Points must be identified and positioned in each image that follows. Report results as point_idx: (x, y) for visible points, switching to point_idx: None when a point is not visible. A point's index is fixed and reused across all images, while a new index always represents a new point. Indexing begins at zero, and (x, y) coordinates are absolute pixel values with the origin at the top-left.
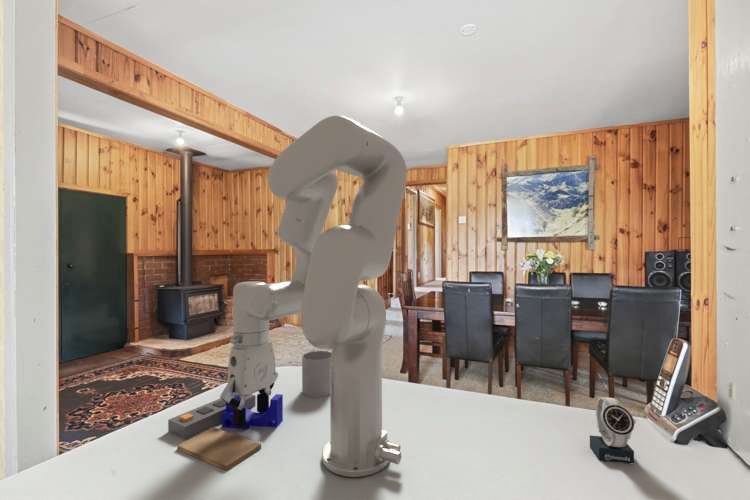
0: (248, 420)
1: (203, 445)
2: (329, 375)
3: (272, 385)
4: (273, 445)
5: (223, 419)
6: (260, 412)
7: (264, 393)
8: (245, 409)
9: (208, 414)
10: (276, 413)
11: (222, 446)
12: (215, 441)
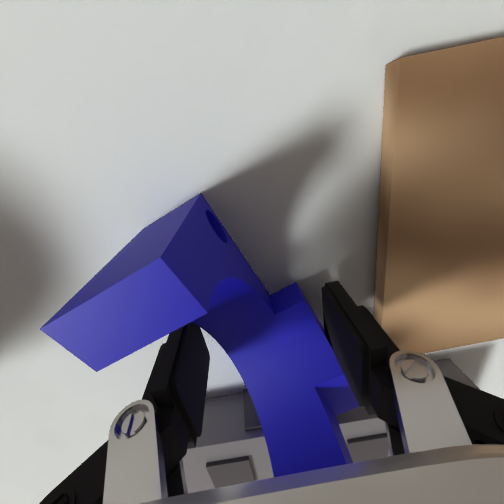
0: (292, 310)
1: (499, 274)
2: None
3: (62, 494)
4: (330, 27)
5: None
6: (203, 340)
7: (167, 433)
8: (362, 344)
9: (381, 425)
10: (189, 218)
11: (483, 211)
12: (458, 269)
